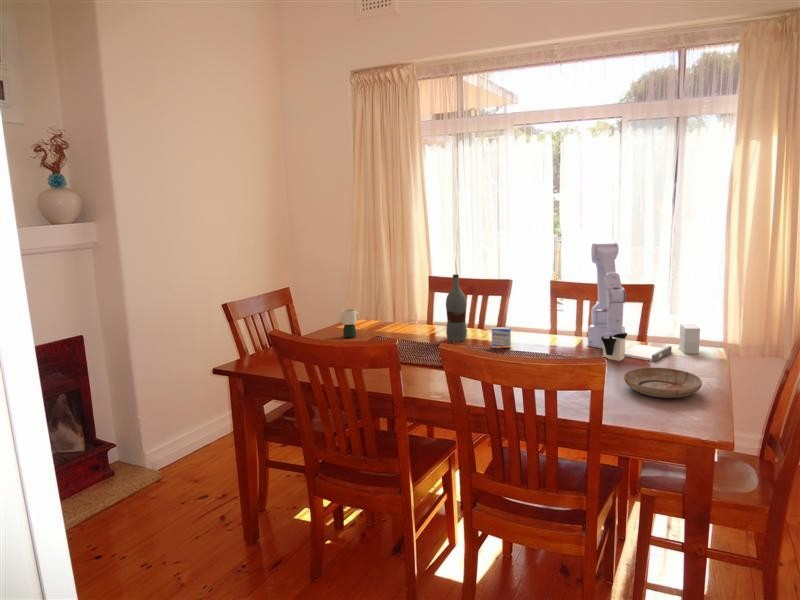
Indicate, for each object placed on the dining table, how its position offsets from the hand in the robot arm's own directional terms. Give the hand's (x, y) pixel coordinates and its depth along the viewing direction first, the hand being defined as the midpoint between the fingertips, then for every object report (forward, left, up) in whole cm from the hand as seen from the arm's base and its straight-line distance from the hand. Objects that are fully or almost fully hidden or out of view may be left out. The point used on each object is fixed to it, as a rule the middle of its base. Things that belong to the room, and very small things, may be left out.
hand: (613, 352), depth 237 cm
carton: (0, 0, -2) cm, 2 cm away
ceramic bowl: (+29, -27, -3) cm, 39 cm away
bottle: (-67, -16, -2) cm, 69 cm away
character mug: (-111, -42, -2) cm, 119 cm away
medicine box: (-44, -14, -2) cm, 46 cm away
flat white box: (+7, +13, -2) cm, 15 cm away
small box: (+19, +27, -2) cm, 33 cm away
